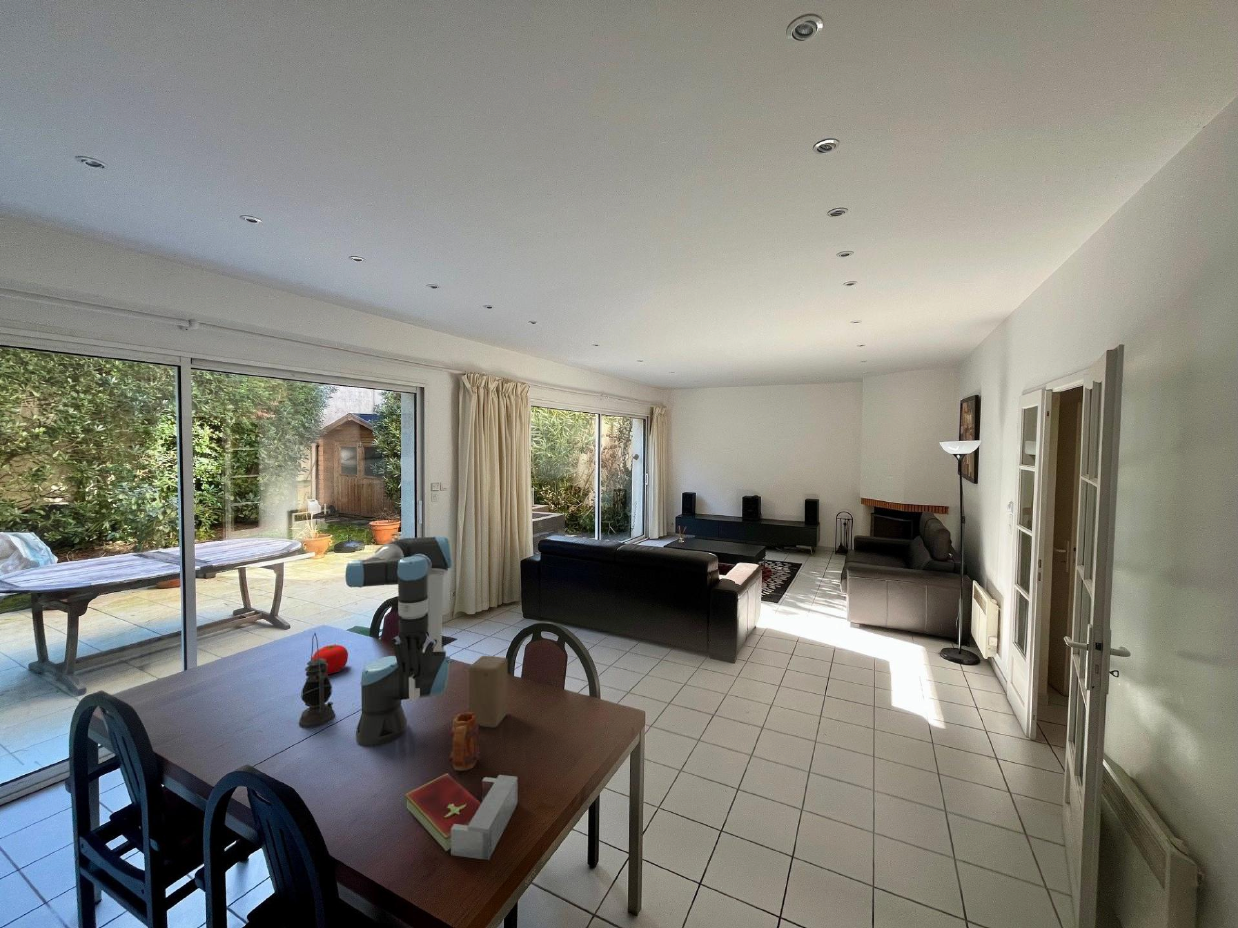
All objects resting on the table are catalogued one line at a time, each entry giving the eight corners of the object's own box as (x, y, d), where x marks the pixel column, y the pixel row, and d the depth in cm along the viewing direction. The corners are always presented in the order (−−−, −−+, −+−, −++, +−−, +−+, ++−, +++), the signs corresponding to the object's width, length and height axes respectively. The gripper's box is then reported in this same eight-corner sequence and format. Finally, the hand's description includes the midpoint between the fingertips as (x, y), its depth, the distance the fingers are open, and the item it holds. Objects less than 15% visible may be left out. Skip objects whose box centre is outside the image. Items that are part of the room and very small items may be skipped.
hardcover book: (448, 786, 135) (448, 771, 135) (491, 825, 121) (491, 808, 121) (405, 809, 126) (404, 793, 126) (445, 854, 112) (445, 836, 112)
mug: (454, 756, 148) (454, 706, 147) (482, 754, 148) (482, 705, 148) (441, 789, 133) (441, 734, 133) (472, 787, 134) (471, 732, 133)
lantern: (340, 719, 168) (339, 632, 167) (304, 732, 160) (303, 641, 159) (328, 707, 176) (327, 623, 176) (293, 718, 168) (292, 631, 168)
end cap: (451, 854, 111) (450, 824, 111) (484, 799, 129) (484, 773, 129) (488, 859, 110) (488, 829, 110) (517, 803, 128) (517, 776, 128)
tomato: (335, 679, 198) (335, 653, 198) (304, 678, 198) (303, 653, 198) (355, 663, 212) (354, 639, 212) (325, 663, 213) (325, 639, 212)
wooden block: (496, 729, 162) (495, 669, 162) (468, 725, 164) (467, 666, 164) (508, 713, 172) (508, 656, 172) (482, 710, 174) (482, 654, 174)
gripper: (383, 617, 132) (384, 703, 133) (427, 621, 130) (428, 708, 131) (400, 608, 139) (401, 689, 140) (442, 611, 137) (443, 693, 138)
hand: (414, 698), depth 136 cm, fingers closed
